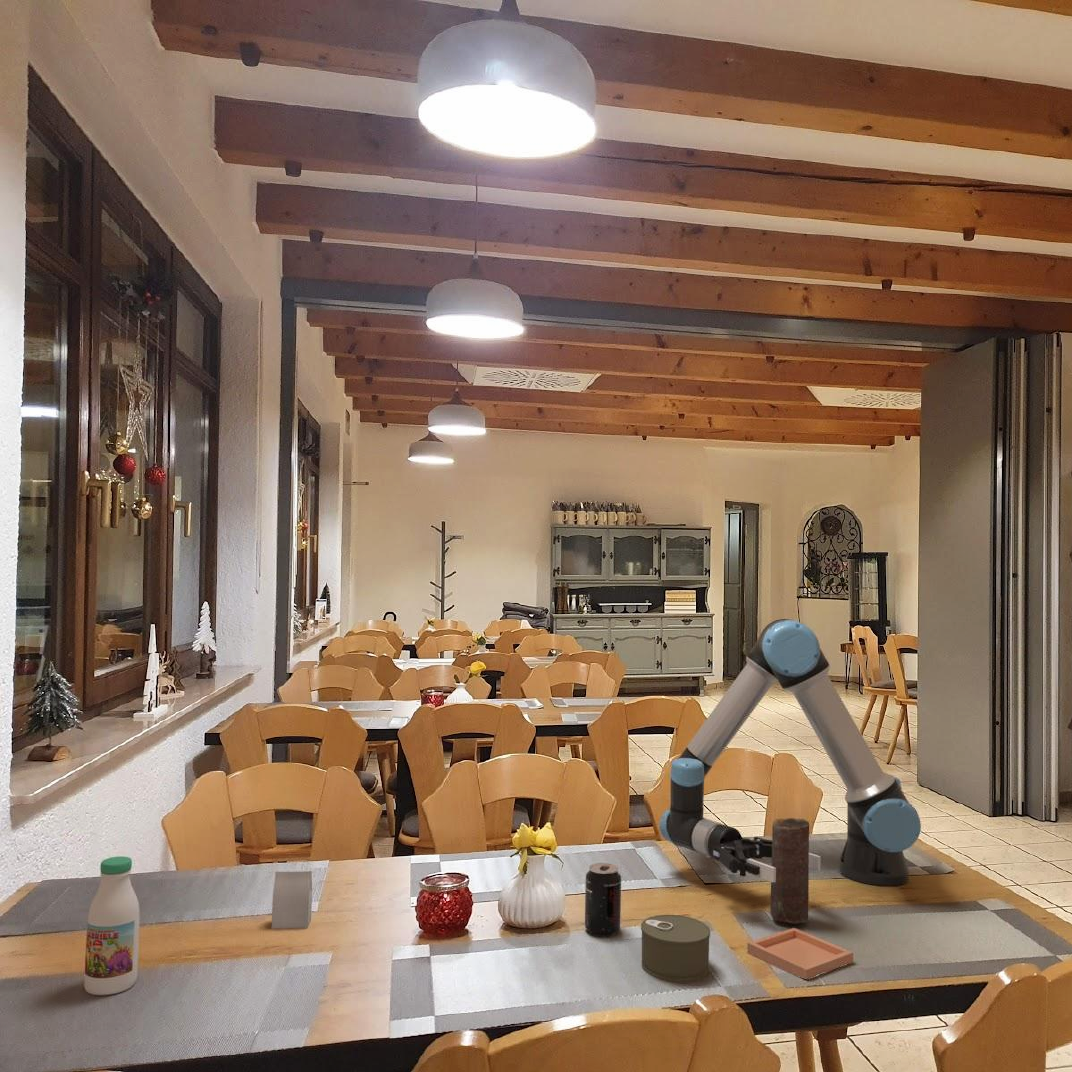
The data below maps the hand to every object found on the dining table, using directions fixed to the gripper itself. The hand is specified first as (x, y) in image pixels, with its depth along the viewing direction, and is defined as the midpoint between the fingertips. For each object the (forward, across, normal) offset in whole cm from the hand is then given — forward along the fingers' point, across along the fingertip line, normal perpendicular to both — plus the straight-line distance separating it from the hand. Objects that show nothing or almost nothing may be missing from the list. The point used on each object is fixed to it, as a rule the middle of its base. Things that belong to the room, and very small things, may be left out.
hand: (797, 869), depth 173 cm
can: (+1, +34, -11) cm, 36 cm away
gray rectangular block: (-52, +84, -11) cm, 99 cm away
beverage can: (-18, +35, -11) cm, 41 cm away
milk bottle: (-43, +117, -11) cm, 125 cm away
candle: (-2, 0, -11) cm, 11 cm away
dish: (+10, +12, -11) cm, 19 cm away
